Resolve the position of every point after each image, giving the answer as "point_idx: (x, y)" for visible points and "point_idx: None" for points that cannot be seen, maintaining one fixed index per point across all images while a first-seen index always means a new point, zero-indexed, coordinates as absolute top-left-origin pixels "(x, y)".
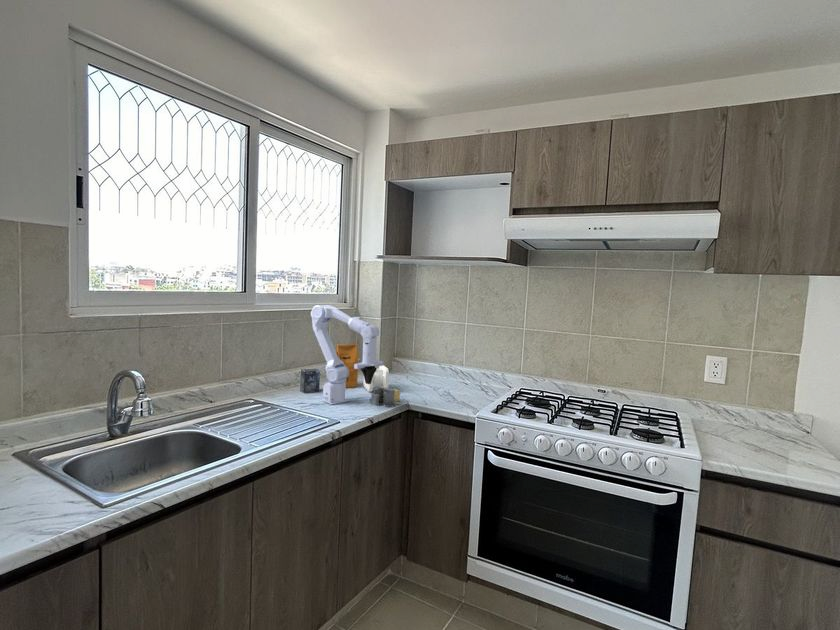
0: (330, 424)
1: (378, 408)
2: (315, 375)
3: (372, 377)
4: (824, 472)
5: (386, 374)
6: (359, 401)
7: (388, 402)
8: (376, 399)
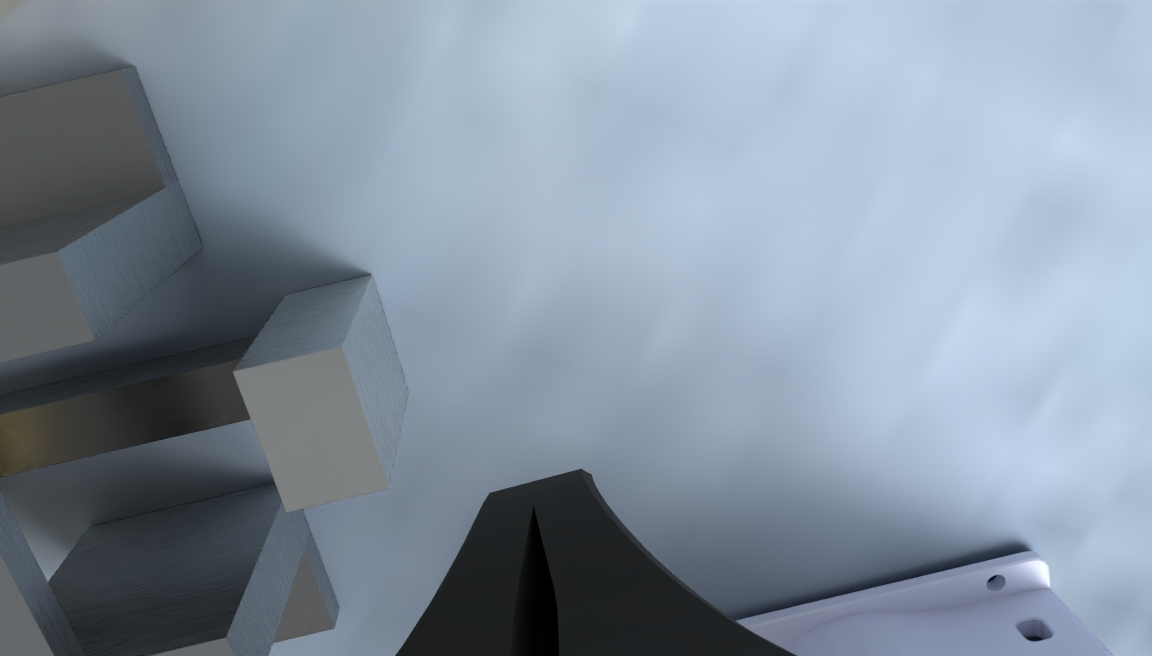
0: None
1: (382, 70)
2: None
3: (429, 614)
4: None
5: None
6: None
7: (72, 213)
8: (325, 319)
